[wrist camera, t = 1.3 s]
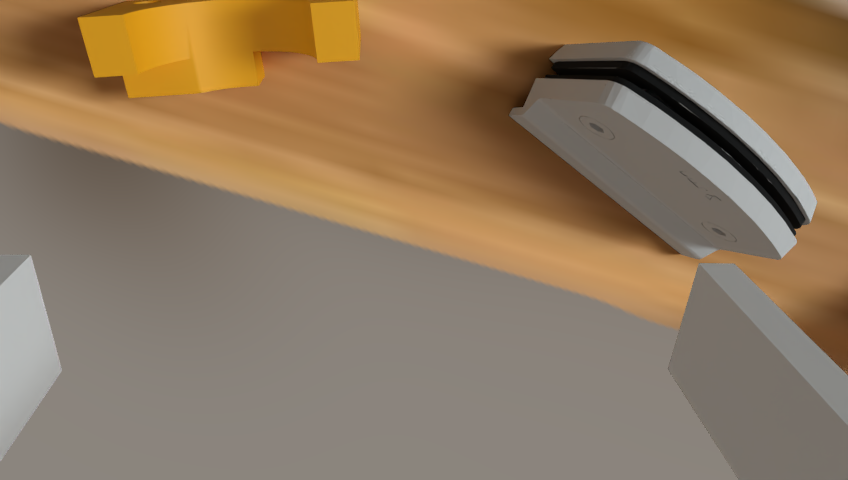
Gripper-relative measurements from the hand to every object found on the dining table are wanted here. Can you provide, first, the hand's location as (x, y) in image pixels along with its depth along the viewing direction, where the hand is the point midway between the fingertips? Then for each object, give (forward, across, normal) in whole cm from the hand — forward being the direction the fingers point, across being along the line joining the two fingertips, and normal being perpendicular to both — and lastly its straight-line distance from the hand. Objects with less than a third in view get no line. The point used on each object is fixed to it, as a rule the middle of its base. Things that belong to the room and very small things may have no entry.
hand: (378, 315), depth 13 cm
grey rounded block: (+26, +17, -4) cm, 31 cm away
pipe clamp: (+26, -7, +1) cm, 27 cm away
